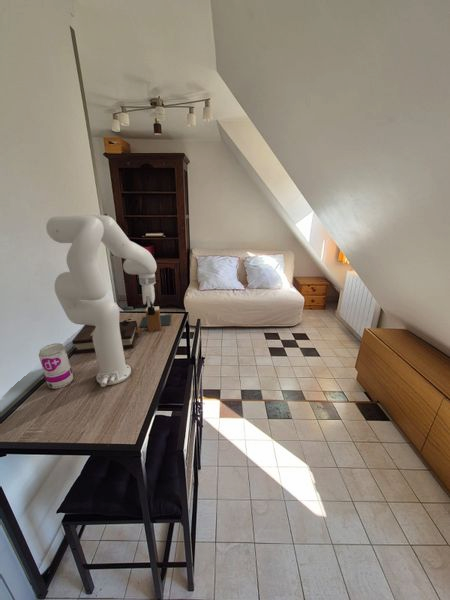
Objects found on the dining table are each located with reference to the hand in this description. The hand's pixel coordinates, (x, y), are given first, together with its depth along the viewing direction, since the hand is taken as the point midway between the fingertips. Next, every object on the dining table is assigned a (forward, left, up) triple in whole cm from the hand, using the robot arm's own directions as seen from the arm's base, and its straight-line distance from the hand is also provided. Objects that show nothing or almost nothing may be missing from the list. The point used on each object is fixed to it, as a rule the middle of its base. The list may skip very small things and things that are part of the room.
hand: (151, 314), depth 129 cm
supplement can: (-35, +31, -11) cm, 48 cm away
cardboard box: (+5, 0, -11) cm, 12 cm away
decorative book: (-6, +21, -11) cm, 24 cm away
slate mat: (+15, 0, -11) cm, 18 cm away
